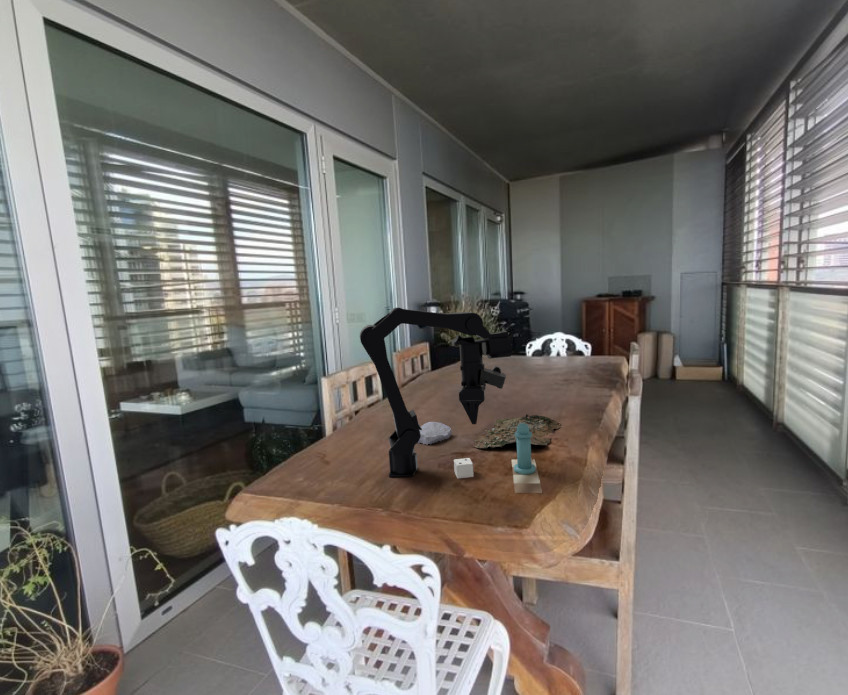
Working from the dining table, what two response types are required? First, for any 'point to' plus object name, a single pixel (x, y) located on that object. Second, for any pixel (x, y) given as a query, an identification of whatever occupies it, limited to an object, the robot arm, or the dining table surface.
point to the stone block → (434, 432)
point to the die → (463, 468)
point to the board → (526, 480)
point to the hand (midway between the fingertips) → (475, 419)
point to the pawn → (523, 451)
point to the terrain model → (509, 427)
